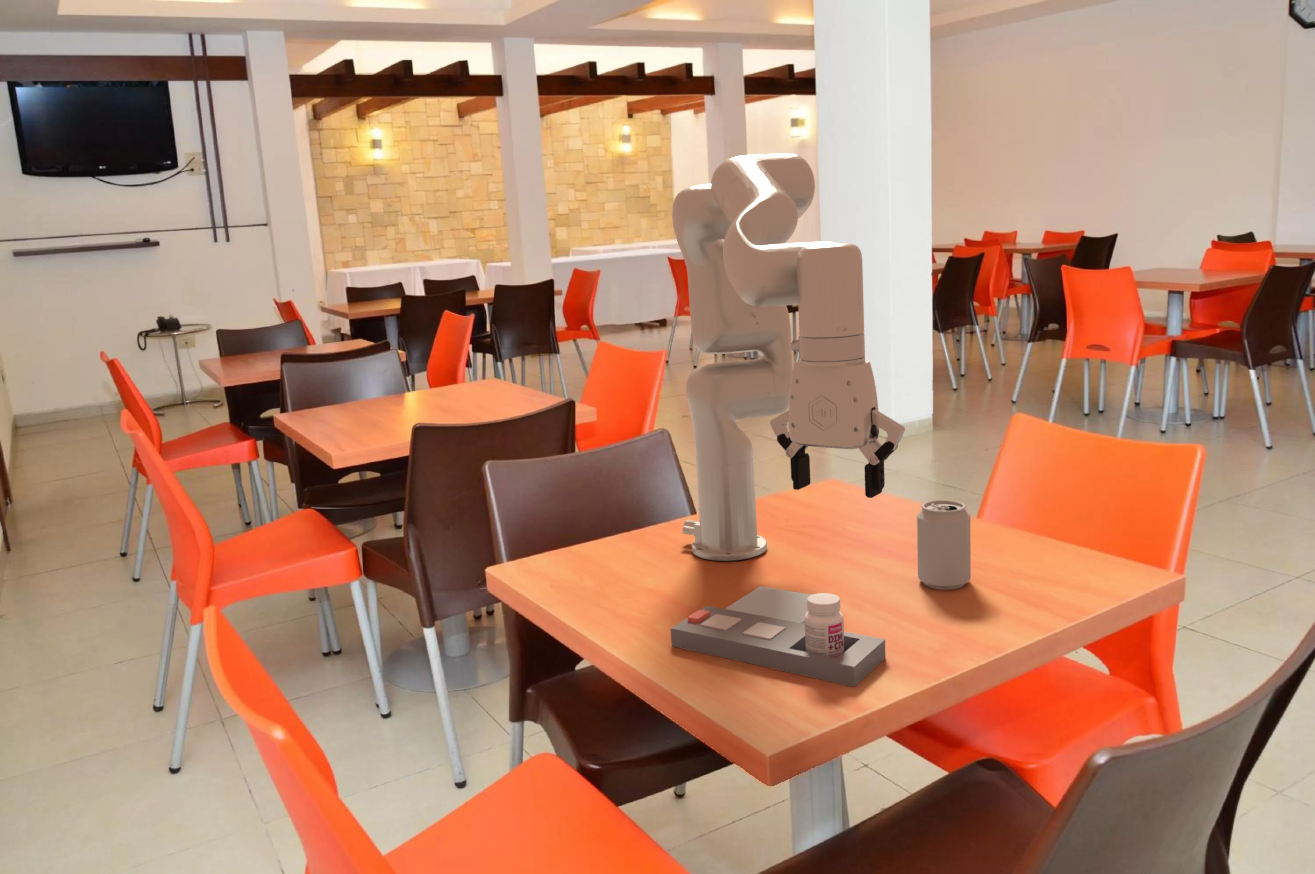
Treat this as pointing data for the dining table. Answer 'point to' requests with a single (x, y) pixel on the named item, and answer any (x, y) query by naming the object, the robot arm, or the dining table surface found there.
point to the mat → (774, 604)
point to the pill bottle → (824, 625)
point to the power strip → (775, 645)
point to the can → (943, 544)
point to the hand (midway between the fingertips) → (837, 491)
